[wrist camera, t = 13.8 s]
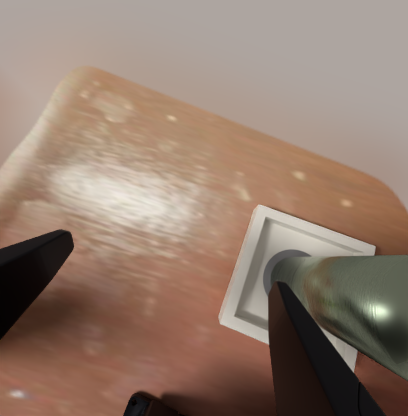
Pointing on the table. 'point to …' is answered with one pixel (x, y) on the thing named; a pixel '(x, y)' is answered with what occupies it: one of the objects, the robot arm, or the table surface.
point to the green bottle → (356, 301)
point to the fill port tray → (264, 263)
